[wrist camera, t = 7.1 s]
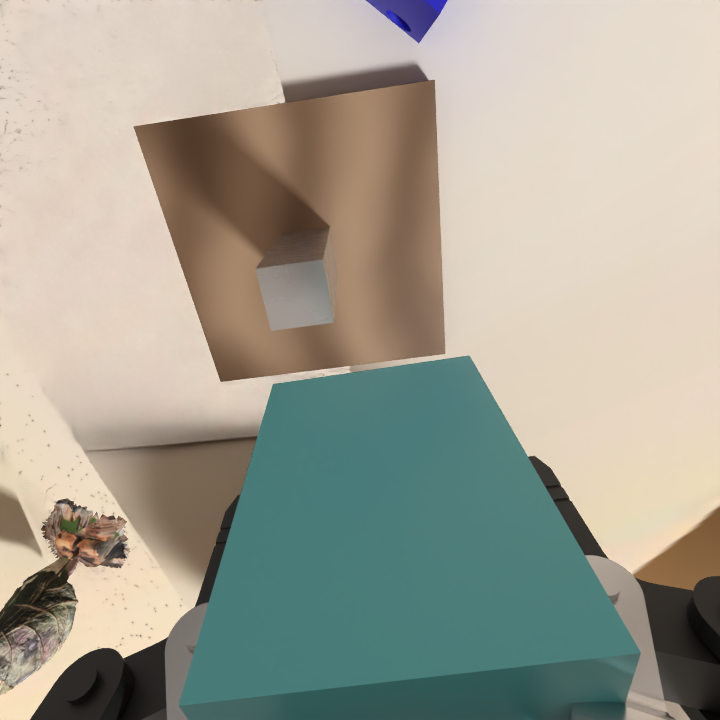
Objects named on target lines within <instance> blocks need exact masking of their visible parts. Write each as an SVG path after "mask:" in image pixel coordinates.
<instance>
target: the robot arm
mask: <svg viewBox="0 0 720 720" xmlns="http://www.w3.org/2000/svg"><path fill="white" fill-rule="evenodd" d="M528 458H529V460H530V461H531V463H532V465H533V467H534V468H535V470H536V472H537V474H538V475H539V477H540V479H541V480H542V482H543V484H544V486H545V487H546V489H547V491H548V493H549V494H550V496H551V498H552V499H553V501H554V503H555V505H556V506H557V508H558V510H559V512H560V513H561V515H562V517H563V519H564V520H565V522H566V524H567V525H568V527H569V529H570V531H571V532H572V534H573V536H574V538H575V539H576V541H577V543H578V544H579V546H580V548H581V550H582V551H583V553H584V555H585V557H586V558H587V560H588V562H589V564H590V565H591V567H592V569H593V570H594V572H595V574H596V576H597V577H598V579H599V581H600V583H601V584H602V586H603V588H604V590H605V591H606V593H607V595H608V596H609V598H610V600H611V602H612V603H613V605H614V607H615V609H616V610H617V612H618V614H619V615H620V617H621V619H622V621H623V622H624V624H625V626H626V628H627V629H628V631H629V633H630V635H631V636H632V638H633V640H634V641H635V643H636V645H637V647H638V648H639V650H640V652H641V655H640V658H639V661H638V664H637V668H636V671H635V674H634V677H633V680H632V683H631V687H630V690H629V693H628V696H627V699H626V702H625V703H620V702H575V703H571V706H570V711H569V717H568V720H676V719H675V718H674V717H671V716H670V715H669V713H668V711H667V708H666V705H665V701H669V702H673V703H677V704H679V705H680V707H681V708H682V709H683V710H684V712H685V713H686V714H687V716H688V717H689V718H690V720H720V576H712V577H707V578H704V579H702V580H700V581H699V582H698V583H697V584H696V586H695V588H694V590H693V591H692V590H686V589H681V588H675V587H669V586H664V585H657V584H653V583H649V582H645V581H642V580H639V579H637V578H635V577H633V576H632V574H631V573H630V572H628V571H627V570H626V569H625V568H624V567H622V566H621V565H619V564H617V563H616V562H614V561H612V560H609V559H608V558H607V556H606V555H605V554H604V552H603V551H602V549H601V548H600V546H599V545H598V543H597V541H596V540H595V538H594V537H593V535H592V533H591V532H590V530H589V529H588V527H587V525H586V524H585V522H584V521H583V519H582V517H581V516H580V514H579V513H578V511H577V509H576V508H575V506H574V505H573V503H572V501H570V500H569V497H568V495H567V493H566V492H565V490H564V489H563V488H562V487H561V484H560V482H559V481H558V479H557V478H556V476H555V474H554V473H553V471H552V470H551V468H550V467H548V466H547V465H546V464H544V463H543V462H542V461H540V460H539V459H538V458H536V457H535V456H530V457H528ZM239 498H240V495H238V496H237V497H236V499H235V500H234V501H233V503H232V504H231V505H230V506H229V508H228V509H227V510H226V512H225V516H224V519H223V522H222V525H221V528H220V529H221V531H220V532H219V534H218V537H217V541H216V546H215V547H214V550H213V553H212V556H211V559H210V562H209V566H208V569H207V572H206V575H205V578H204V581H203V584H202V587H201V591H200V594H199V597H198V600H197V603H196V605H195V607H194V608H193V609H191V610H190V611H188V612H187V613H186V614H185V615H184V616H183V617H181V618H180V620H179V621H178V622H177V623H176V624H175V626H174V627H173V629H172V631H171V632H170V634H169V637H167V638H166V639H164V640H162V641H160V642H159V643H156V644H154V645H152V646H150V647H148V648H145V649H143V650H141V651H139V652H137V653H134V654H132V655H130V656H128V657H126V658H124V659H123V658H122V656H121V655H120V654H119V653H118V652H117V651H116V650H114V649H110V648H102V649H97V650H94V651H91V652H89V653H87V654H85V655H84V656H82V657H81V658H79V659H78V660H76V661H75V662H74V663H73V664H71V665H70V666H69V667H68V668H67V669H66V670H65V671H64V672H63V673H62V675H61V676H60V677H59V678H58V680H57V681H56V682H55V684H54V685H53V687H52V688H51V690H50V691H49V692H48V694H47V695H46V697H45V698H44V700H43V701H42V703H41V704H40V706H39V707H38V709H37V710H36V712H35V713H34V715H33V716H32V718H31V719H30V720H188V718H187V717H186V716H185V714H184V713H183V711H182V710H181V709H180V707H179V706H178V705H179V702H180V698H181V695H182V692H183V688H184V685H185V681H186V678H187V675H188V671H189V668H190V664H191V661H192V658H193V654H194V651H195V647H196V644H197V641H198V637H199V634H200V631H201V627H202V624H203V620H204V617H205V614H206V610H207V607H208V603H209V600H210V597H211V593H212V590H213V586H214V583H215V580H216V576H217V573H218V569H219V566H220V563H221V559H222V556H223V552H224V549H225V546H226V542H227V539H228V535H229V532H230V529H231V525H232V522H233V518H234V515H235V512H236V508H237V505H238V501H239ZM664 700H665V701H664Z"/></svg>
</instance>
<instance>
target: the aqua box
mask: <svg viewBox="0 0 720 720" xmlns="http://www.w3.org/2000/svg"><path fill="white" fill-rule="evenodd" d="M640 655H641V652H640V650H639V648H638V647H637V645H636V643H635V641H634V640H633V638H632V636H631V635H630V633H629V631H628V629H627V628H626V626H625V624H624V622H623V621H622V619H621V617H620V615H619V614H618V612H617V610H616V609H615V607H614V605H613V603H612V602H611V600H610V598H609V596H608V595H607V593H606V591H605V590H604V588H603V586H602V584H601V583H600V581H599V579H598V577H597V576H596V574H595V572H594V570H593V569H592V567H591V565H590V564H589V562H588V560H587V558H586V557H585V555H584V553H583V551H582V550H581V548H580V546H579V544H578V543H577V541H576V539H575V538H574V536H573V534H572V532H571V531H570V529H569V527H568V525H567V524H566V522H565V520H564V519H563V517H562V515H561V513H560V512H559V510H558V508H557V506H556V505H555V503H554V501H553V499H552V498H551V496H550V494H549V493H548V491H547V489H546V487H545V486H544V484H543V482H542V480H541V479H540V477H539V475H538V474H537V472H536V470H535V468H534V467H533V465H532V463H531V461H530V460H529V458H528V456H527V454H526V453H525V451H524V449H523V448H522V446H521V444H520V442H519V441H518V439H517V437H516V435H515V434H514V432H513V430H512V429H511V427H510V425H509V423H508V422H507V420H506V418H505V416H504V415H503V413H502V411H501V409H500V408H499V406H498V404H497V403H496V401H495V399H494V397H493V396H492V394H491V392H490V390H489V389H488V387H487V385H486V384H485V382H484V380H483V378H482V377H481V375H480V373H479V371H478V370H477V368H476V366H475V364H474V363H473V361H472V359H471V358H470V356H463V357H456V358H449V359H442V360H435V361H428V362H422V363H415V364H408V365H401V366H394V367H387V368H380V369H374V370H367V371H360V372H353V373H346V374H339V375H332V376H326V377H319V378H312V379H305V380H298V381H291V382H284V383H277V384H273V386H272V389H271V393H270V396H269V400H268V403H267V406H266V410H265V413H264V417H263V420H262V423H261V427H260V430H259V434H258V437H257V440H256V444H255V447H254V451H253V454H252V457H251V461H250V464H249V467H248V471H247V474H246V478H245V481H244V484H243V488H242V491H241V495H240V498H239V501H238V505H237V508H236V512H235V515H234V518H233V522H232V525H231V529H230V532H229V535H228V539H227V542H226V546H225V549H224V552H223V556H222V559H221V563H220V566H219V569H218V573H217V576H216V580H215V583H214V586H213V590H212V593H211V597H210V600H209V603H208V607H207V610H206V614H205V617H204V620H203V624H202V627H201V631H200V634H199V637H198V641H197V644H196V647H195V651H194V654H193V658H192V661H191V664H190V668H189V671H188V675H187V678H186V681H185V685H184V688H183V692H182V695H181V698H180V702H179V705H178V706H179V707H180V709H181V710H182V711H183V713H184V714H185V716H186V717H187V718H188V720H568V717H569V711H570V706H571V703H575V702H620V703H625V702H626V699H627V696H628V693H629V690H630V687H631V683H632V680H633V677H634V674H635V671H636V668H637V664H638V661H639V658H640Z"/></svg>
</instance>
